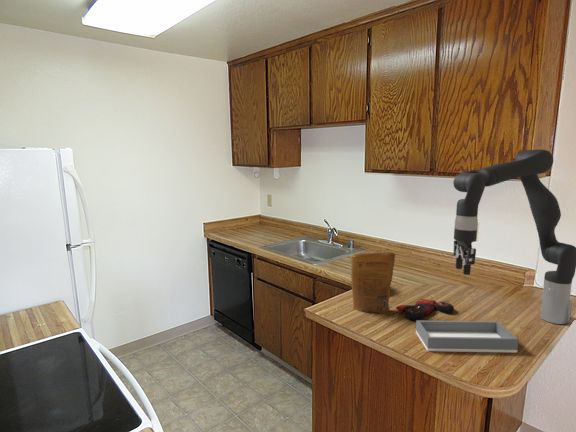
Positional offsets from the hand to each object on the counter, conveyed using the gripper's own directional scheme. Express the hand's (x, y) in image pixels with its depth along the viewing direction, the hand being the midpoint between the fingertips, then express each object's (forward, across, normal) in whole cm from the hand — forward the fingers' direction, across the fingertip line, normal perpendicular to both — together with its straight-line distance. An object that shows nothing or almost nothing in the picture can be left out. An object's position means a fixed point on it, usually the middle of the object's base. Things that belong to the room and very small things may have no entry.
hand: (462, 271), depth 134 cm
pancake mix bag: (+26, +21, +30) cm, 45 cm away
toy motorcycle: (+25, +16, +3) cm, 30 cm away
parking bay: (+26, -4, -1) cm, 26 cm away
